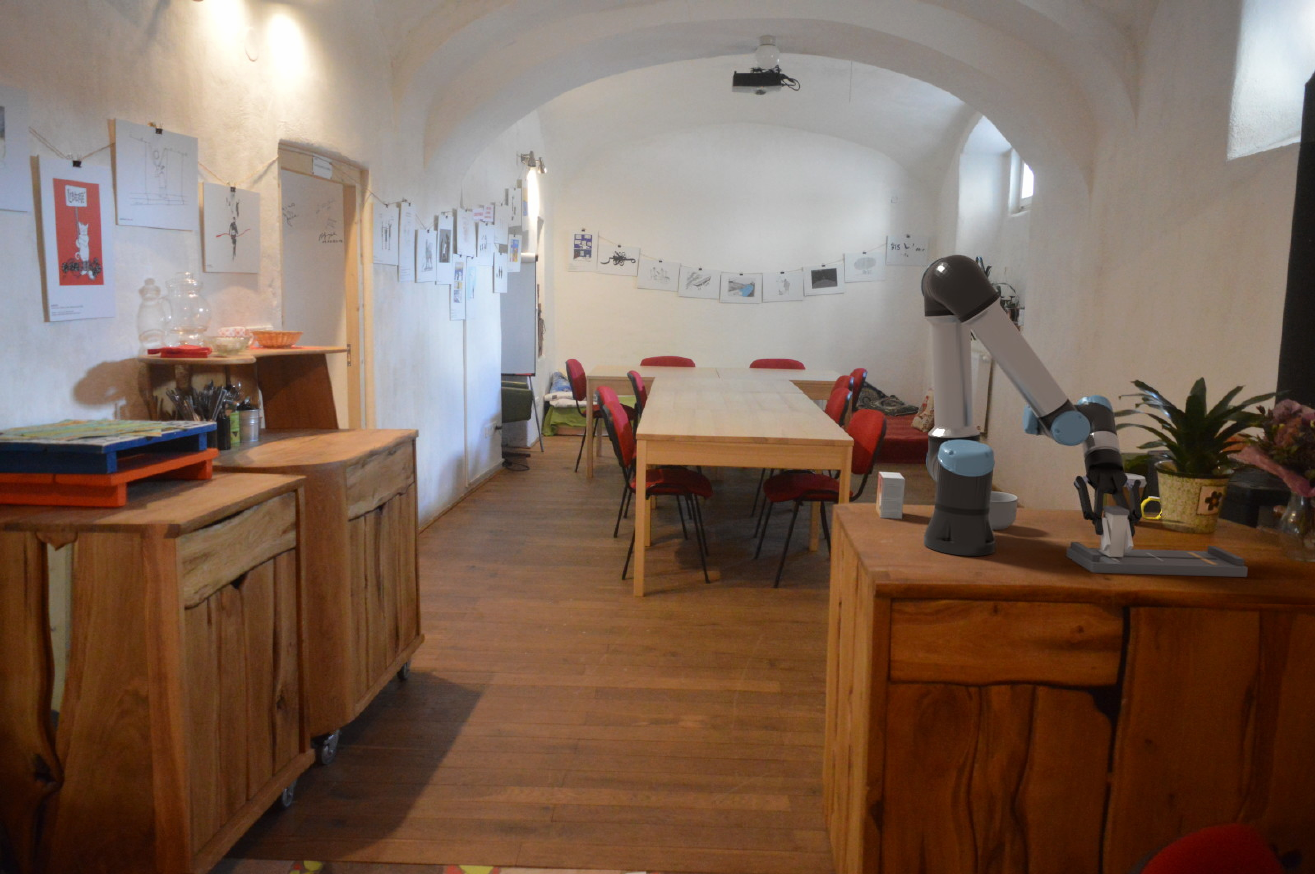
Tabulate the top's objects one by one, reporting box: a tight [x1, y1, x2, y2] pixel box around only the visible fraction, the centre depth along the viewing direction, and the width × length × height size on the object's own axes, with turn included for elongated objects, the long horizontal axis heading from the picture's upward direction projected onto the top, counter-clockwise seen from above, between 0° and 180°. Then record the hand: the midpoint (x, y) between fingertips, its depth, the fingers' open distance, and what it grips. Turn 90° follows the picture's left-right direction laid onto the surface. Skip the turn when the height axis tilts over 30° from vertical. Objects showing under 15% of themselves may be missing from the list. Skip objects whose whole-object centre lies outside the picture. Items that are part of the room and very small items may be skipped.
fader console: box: [1065, 541, 1249, 578], centre depth 194 cm, size 32×12×4 cm, turn 90°
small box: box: [875, 471, 906, 520], centre depth 233 cm, size 8×6×10 cm
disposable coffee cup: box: [1106, 472, 1148, 525], centre depth 234 cm, size 10×10×12 cm
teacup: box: [989, 490, 1019, 531], centre depth 226 cm, size 14×11×8 cm
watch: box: [1141, 495, 1162, 521], centre depth 238 cm, size 6×3×6 cm, turn 89°
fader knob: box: [1099, 505, 1130, 557], centre depth 193 cm, size 3×4×10 cm
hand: (1118, 548), depth 189 cm, fingers closed on fader knob, 4 cm apart
